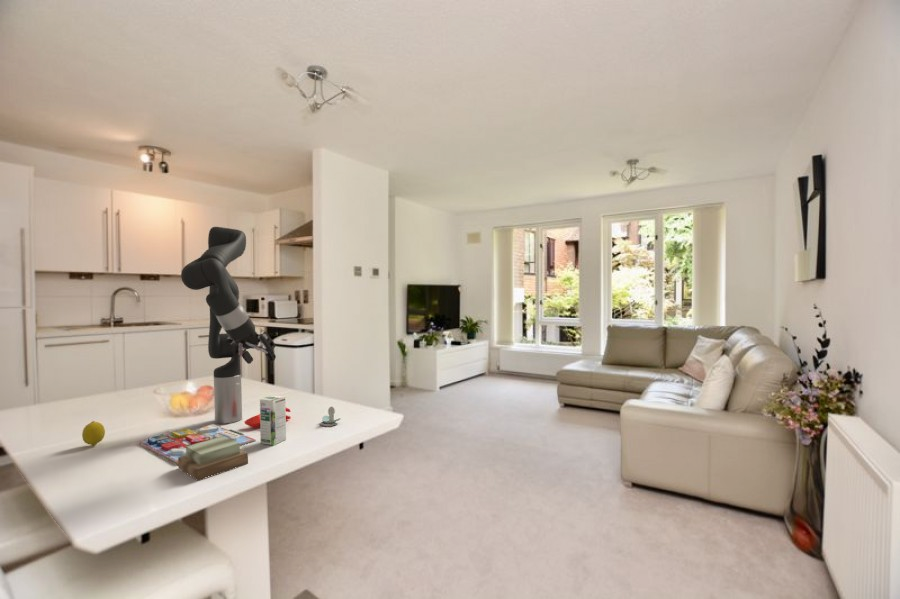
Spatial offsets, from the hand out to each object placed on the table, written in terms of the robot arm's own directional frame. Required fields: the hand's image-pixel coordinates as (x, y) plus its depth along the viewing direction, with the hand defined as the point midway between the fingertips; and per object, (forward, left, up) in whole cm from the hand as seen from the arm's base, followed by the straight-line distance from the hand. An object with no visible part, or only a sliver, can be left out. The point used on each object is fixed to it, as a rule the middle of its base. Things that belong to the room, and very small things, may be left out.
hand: (262, 361), depth 130 cm
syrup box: (-1, +4, -27) cm, 27 cm away
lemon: (-46, -32, -27) cm, 62 cm away
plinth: (+3, -16, -27) cm, 32 cm away
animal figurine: (-19, +12, -27) cm, 35 cm away
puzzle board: (-21, -11, -28) cm, 37 cm away
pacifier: (-1, +25, -27) cm, 37 cm away
